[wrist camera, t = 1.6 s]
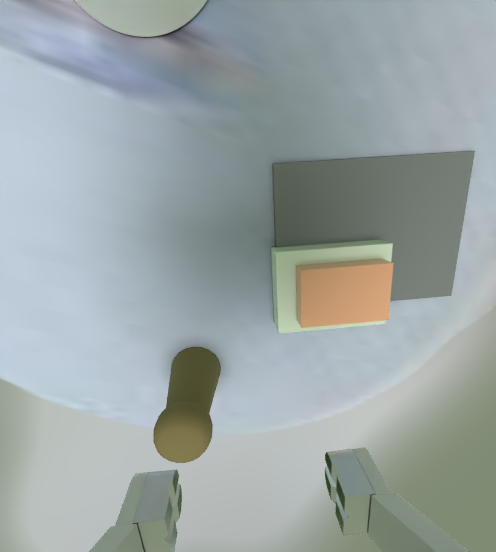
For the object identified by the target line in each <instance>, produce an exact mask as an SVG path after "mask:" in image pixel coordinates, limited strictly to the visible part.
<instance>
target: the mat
mask: <svg viewBox="0 0 496 552" xmlns="http://www.w3.org/2000/svg"><path fill="white" fill-rule="evenodd" d="M474 152H475V151H463V152H447V153H432V154H416V155H400V156H384V157H369V158H353V159H337V160H321V161H306V162H290V163H274V164H273V187H274V215H275V242H276V248H277V247H290V246H302V245H315V244H328V243H341V242H354V241H367V240H382V241H386V242H390V243H393V247H392V258H391V262H392V263H394V264H393V275H392V286H391V297H390V301H395V300H407V299H418V298H430V297H441V296H451V293H452V287H453V281H454V275H455V269H456V263H457V257H458V251H459V244H460V238H461V232H462V226H463V220H464V214H465V208H466V202H467V195H468V189H469V183H470V177H471V171H472V165H473V159H474Z"/></svg>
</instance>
